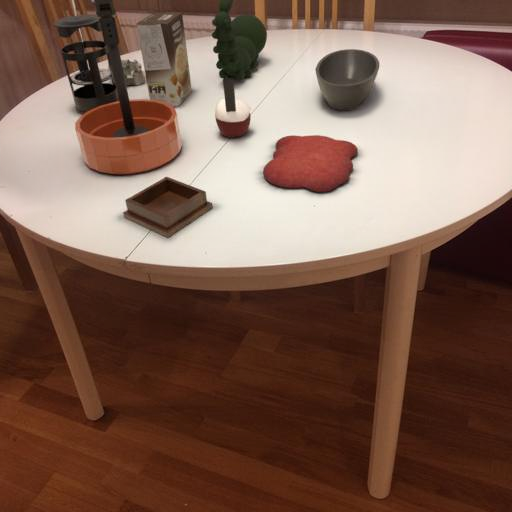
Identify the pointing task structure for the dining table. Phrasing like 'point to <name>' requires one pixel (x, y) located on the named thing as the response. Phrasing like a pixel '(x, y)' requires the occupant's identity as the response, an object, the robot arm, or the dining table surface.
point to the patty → (310, 162)
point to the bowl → (346, 77)
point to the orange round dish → (129, 137)
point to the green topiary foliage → (237, 42)
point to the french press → (87, 64)
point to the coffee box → (165, 57)
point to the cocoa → (232, 112)
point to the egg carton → (132, 72)
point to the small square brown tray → (167, 206)
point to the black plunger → (123, 96)
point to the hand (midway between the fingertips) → (111, 42)
